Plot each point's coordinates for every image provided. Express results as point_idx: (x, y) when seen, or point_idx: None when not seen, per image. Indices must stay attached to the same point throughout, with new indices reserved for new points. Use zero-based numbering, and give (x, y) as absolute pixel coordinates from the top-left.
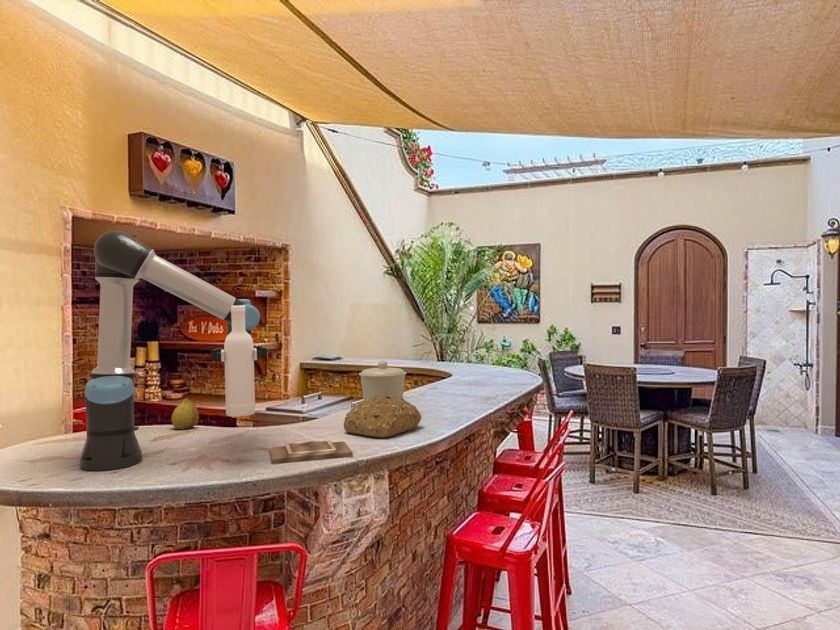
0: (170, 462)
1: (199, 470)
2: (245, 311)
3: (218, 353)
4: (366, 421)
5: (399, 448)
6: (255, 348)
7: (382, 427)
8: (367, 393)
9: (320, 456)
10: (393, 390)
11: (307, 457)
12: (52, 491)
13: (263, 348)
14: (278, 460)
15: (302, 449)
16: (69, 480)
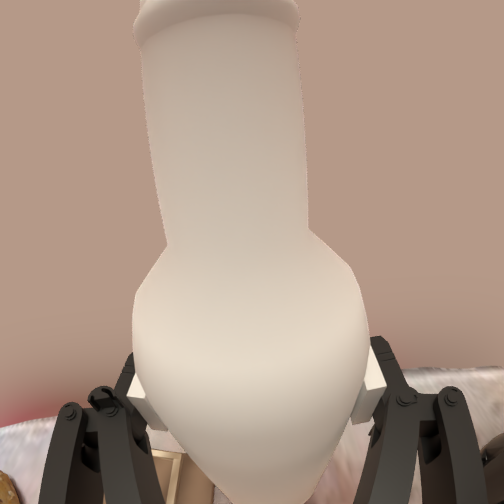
0: (415, 498)
1: (347, 450)
2: (138, 45)
3: (376, 338)
4: (4, 499)
5: (30, 431)
6: (113, 455)
7: (2, 475)
8: None
9: None
10: None
11: (153, 449)
12: (486, 369)
13: (75, 417)
14: None
15: None
16: (500, 402)
